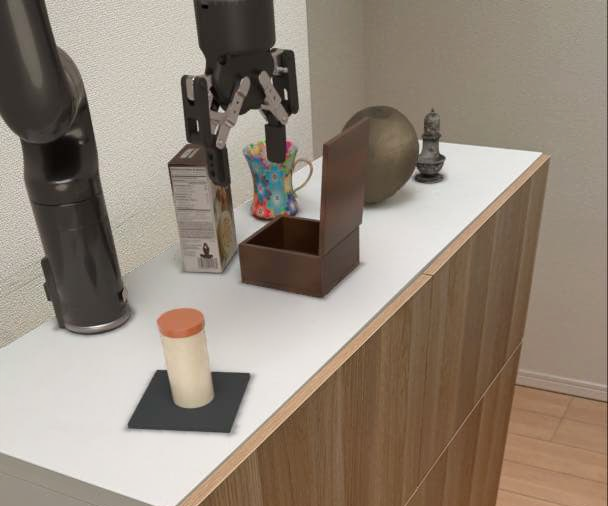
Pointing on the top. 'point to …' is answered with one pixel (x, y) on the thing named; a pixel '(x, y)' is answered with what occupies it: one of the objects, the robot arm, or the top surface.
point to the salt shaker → (430, 151)
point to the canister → (186, 357)
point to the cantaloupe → (387, 151)
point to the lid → (343, 184)
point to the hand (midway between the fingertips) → (249, 173)
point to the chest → (296, 257)
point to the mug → (273, 181)
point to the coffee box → (201, 212)
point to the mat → (211, 417)
